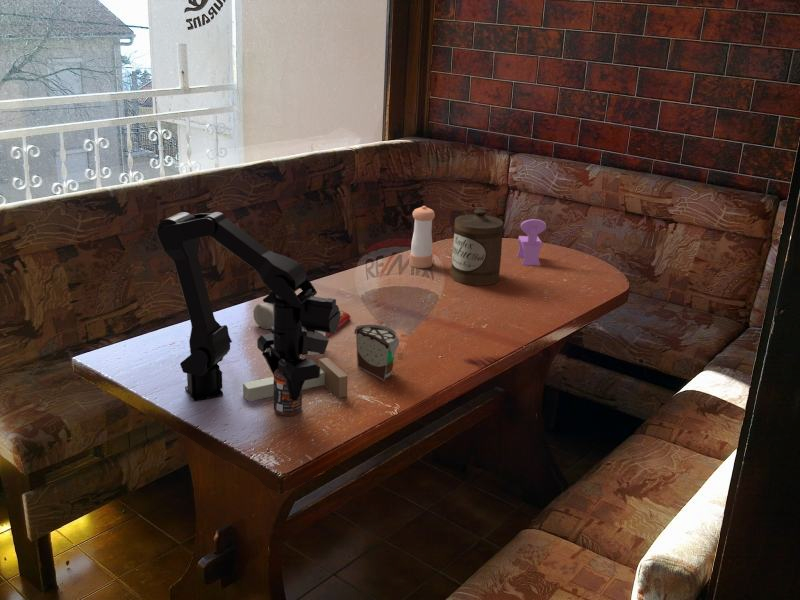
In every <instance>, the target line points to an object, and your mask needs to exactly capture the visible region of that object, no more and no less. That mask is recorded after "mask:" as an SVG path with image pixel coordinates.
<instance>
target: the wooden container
mask: <svg viewBox="0 0 800 600" xmlns="http://www.w3.org/2000/svg"><path fill="white" fill-rule="evenodd" d="M454 219H455V220H454V233H453V242H452V243H453V245H452V256H451V269H450V270H451V271H450V277H451V278H452V279H453V280H454V281H456V282H458V283H461V284H464V285H469V286H490V285H493V284H495V283H497V282H498V281H499V279H500V270H501V260H502V245H503V244H502V243H503V233H504V232H503V231H504V221H503V220H502V219H500V218H498V217H496V216H493V215H486V210H485V209H484V208H483V207H477V208H476V209H474V211H473V214H465V215H464V214H463V215H459V216H457V217H456V218H454Z"/></svg>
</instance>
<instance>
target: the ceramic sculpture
mask: <svg viewBox="0 0 800 600" xmlns="http://www.w3.org/2000/svg"><path fill="white" fill-rule="evenodd" d="M252 312H253V320H254V322H255V323H256V324H257V325H258V326H259V327H260V328H261V329H264V330H265V329H266V330H270V327H272V326H273V304H271V303H266V302H263V303H258V304H256V305H255V306H254V309H253V311H252Z"/></svg>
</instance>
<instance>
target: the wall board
mask: <svg viewBox="0 0 800 600" xmlns="http://www.w3.org/2000/svg"><path fill="white" fill-rule="evenodd" d="M318 366H319V367H320V377H319V378H314V379H310V380H305V382H304V384H303V386H302V391H303V390H307V389H311V388H315V387H321V386H325V387H327V389H328V390H329V391H331V393H332V394H334V395H335V396H336V397H337V398H338V399H342V398H346V397H348V375H347V374H346V373H345V372H344V371H343V370H342V369H341V368H339V367H338V366H337V365H336V364H335V363H334V362H333V361H331V359H330V358H328V357H324V358H323V357H322V358H319V359H318ZM242 393H243V394H242V396H243V397H244V398H245V399H246V400H247V402H252V401H256V400H262V399H266V398H272V397H274V376H270V377H266V378H261V379H256V380H251V381H248V382H243V383H242Z"/></svg>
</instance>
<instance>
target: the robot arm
mask: <svg viewBox="0 0 800 600" xmlns="http://www.w3.org/2000/svg"><path fill="white" fill-rule="evenodd" d="M156 235H157V238H158V240H159V243H160V245H161V247H162V250H163V251H164V252H165V253H166V255H168V257H170V259H171V260H172V261H173V262H174V267H175V270H176V274H177V278H178V282H179V286H180V289H181V291H182V292H181V293H182V295H183V299H184V303H185V305H186V306H185V307H186V309H187V313H188V316H189V321H190V324H191V325H190V326H191V328H190V329H191V330H190V336H189V340H188V342H189V349H190V351H189V353H190V355H188V356H187V357H186V358H185V359H184V360H182V361H181V362H180V364H179V365H180V368H181V370H182V372H183V373H184V374H186V380H187V381H186V382H187V385H186V386H184V389H185V391H186V392H187V394H189V396H190V398H191V399H192V401H195V402H197V401H202V400H206V399H210V398H215V397H221V396H223V395H224V392H223V390H222V389H223V372H222V371H221V369H220V365H219V363H220V362H222V361H223V360H224V357H225V356H227V355H228V353H229V352H230V350H231V343H232V342H233V340H232V339H231V337H230V335H229V328H228V325H227V324H224V325H221V324H220V323H219V322H218V321H217V320H216V319H215V316H214V312H213V308H212V307H213V306H212V304H211V300H210V296H209V293H208V289H207V286H206V281H205V277H204V274H203V270H202V265H201V262H200V258H199V249H200V243H201V238H203V237H208V236H209V237H211V238H212V239H213V240H215V241H216V242H217V243H218V244H219V245H221V246H222V247H224V248H225V249H227V250H228V251H229V252H230V253H232V254H234V256H236V257H237V258H238V259H240V260H241V261H242V262H244V264H246V265H248V266H249V267H251V268H252V269H253V270H254V271H255V272H256V273H257V274H258V276H259V278H260V280H261V282H262V284H264V286H266V288H267V289H268V290H269V291H270V292H269V293H268V295H267V296H265V297H264V298H263V299H262V301H263V303H264V302H266V303H271V304H273V326H272V327H270V329H269V331H270V333H265V334H261V335H260V336H258V338H257V341H256V342H257V343H256V344H257V349H259V351H260V352H261V353H262V356H263V358H264V360H265V362H266V364H267V366H268V367H269V369H270V372H271V373H272V377H274V372H275V371H276V369H278V366H279V360H281V359H282V360H283V361H284V362H286V361H288V363H287V365H286V366H285V373H284V374H282V375H283V378H284V381H285V383H286V386H287V389H288V392H289V394H290V397H291V399H292V401H295V400H297V399H298V397H299V394H300V391H301V389H302V386H303V384H304V382H305V380H310V379H314V378H319V377H320V367H319V364H317V363H316V362H315V361H314V360H312V359H311V357H306V358H301V357H300V356H308V355H307V354H308V351H310V352H316V353H320V354H319V355H325V354H326V351H327V348H328V345H329V341H330V339H329V338H328V337H325V336H324V335H323V334H321V333H319V332H318V331H322V332H327V333H331V334H335V333H336V332H337V330H338V329H339V328H338V325H339V321H340V308H339V306H338V304H337V299H335V298H332V297H331V298H327V297H325V298H324V297H321V296H316V295H317V293H318V292H317V289H316V288H315V287H314V285H313V284H312V282H311V281H310V279H309V278H308V276H307V273H306V268H305V267H304V266H303V264H301V263H300V262H298V261H297V260H294V259H293V258H290V257H289V256H286V255H283V254H279V253H275V252H274V251H271V250H270V249H268V248H267V247H266V246H264V245H263V244H261V243H260V242H259V241H257V240H256V239H255V238H254V237H252V236H251V235H249V234H248V233H247V232H245V231H244V230H243V229H241V228H240V227H239V226H237V225H236V224H235V223H234V222H232V220H230V219H228V218H227V216H226V215H225V214H224V213H222V212H220V211H215V212H211V213H208V212H206V213H196V214H195V213H194V214H191V213H189V212H187V211H181V212H178V213H176V214H174V215H172V216H170V217H167V218H165V219H162V220H161V221H160V222H159V224H158V225H157V227H156ZM298 290H301V291H300V292H299V293H298V294H296V292H297V291H298ZM337 328H338V329H337ZM315 330H316V332H315Z"/></svg>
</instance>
